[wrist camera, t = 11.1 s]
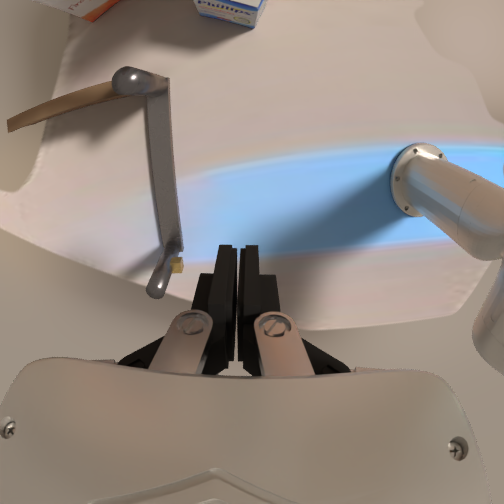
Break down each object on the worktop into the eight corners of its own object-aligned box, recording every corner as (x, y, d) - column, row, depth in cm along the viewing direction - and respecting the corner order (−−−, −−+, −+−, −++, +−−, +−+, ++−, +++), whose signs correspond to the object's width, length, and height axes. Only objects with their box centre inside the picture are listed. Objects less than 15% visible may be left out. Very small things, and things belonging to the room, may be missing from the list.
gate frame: (175, 73, 30) (147, 61, 20) (189, 251, 44) (175, 299, 33) (148, 78, 30) (111, 70, 20) (166, 251, 44) (146, 298, 33)
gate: (142, 95, 30) (123, 94, 25) (33, 125, 30) (8, 132, 24) (141, 81, 29) (122, 78, 24) (32, 114, 29) (6, 119, 23)
